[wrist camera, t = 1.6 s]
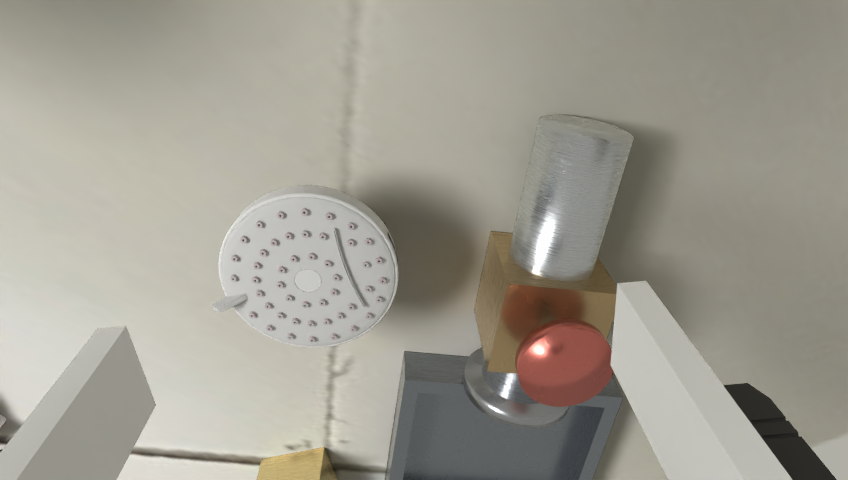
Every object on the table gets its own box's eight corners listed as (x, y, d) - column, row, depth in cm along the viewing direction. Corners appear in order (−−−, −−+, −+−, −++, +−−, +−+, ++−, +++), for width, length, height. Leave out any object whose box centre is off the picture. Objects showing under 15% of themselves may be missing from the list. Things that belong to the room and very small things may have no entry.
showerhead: (168, 234, 28) (365, 179, 27) (211, 180, 35) (371, 134, 34) (247, 379, 32) (420, 335, 32) (272, 307, 39) (416, 269, 38)
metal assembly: (383, 483, 48) (379, 608, 39) (442, 94, 34) (458, 149, 25) (560, 495, 49) (596, 618, 40) (688, 126, 35) (789, 190, 26)
